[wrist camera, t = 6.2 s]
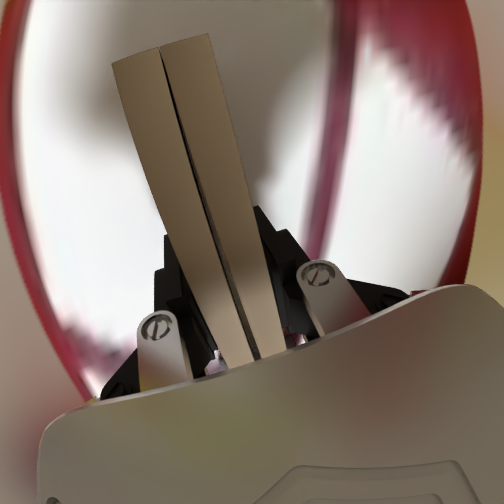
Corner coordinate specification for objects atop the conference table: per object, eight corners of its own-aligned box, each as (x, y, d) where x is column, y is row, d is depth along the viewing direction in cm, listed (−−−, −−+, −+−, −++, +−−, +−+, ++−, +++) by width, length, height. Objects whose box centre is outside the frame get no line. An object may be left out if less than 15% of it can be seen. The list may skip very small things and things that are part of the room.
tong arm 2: (165, 67, 8) (157, 47, 4) (251, 349, 18) (274, 415, 14) (139, 75, 8) (111, 63, 4) (237, 354, 18) (257, 420, 14)
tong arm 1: (192, 59, 8) (207, 33, 4) (272, 342, 18) (299, 406, 14) (166, 66, 8) (159, 47, 4) (258, 347, 18) (282, 412, 14)
